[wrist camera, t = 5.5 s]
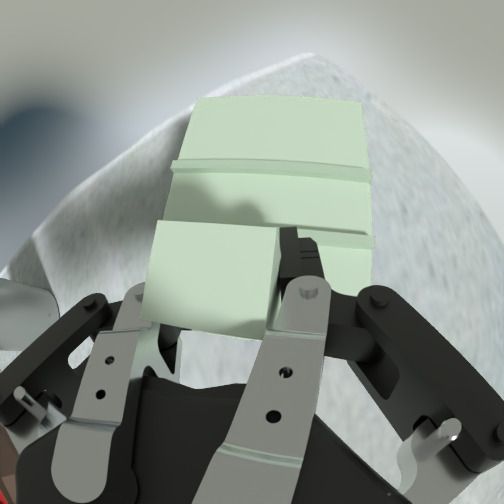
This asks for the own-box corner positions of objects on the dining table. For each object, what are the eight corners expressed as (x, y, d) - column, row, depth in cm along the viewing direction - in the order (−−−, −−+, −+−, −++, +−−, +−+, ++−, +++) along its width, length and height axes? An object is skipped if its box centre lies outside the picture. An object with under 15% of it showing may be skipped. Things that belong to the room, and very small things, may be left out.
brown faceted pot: (-5, 385, 29) (-65, 384, 13) (68, 458, 24) (-8, 484, 8) (7, 465, 24) (-40, 475, 8) (79, 532, 19) (30, 560, 3)
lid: (150, 320, 15) (34, 310, 7) (200, 105, 19) (160, 16, 10) (360, 348, 13) (444, 378, 5) (359, 109, 17) (379, 9, 8)
